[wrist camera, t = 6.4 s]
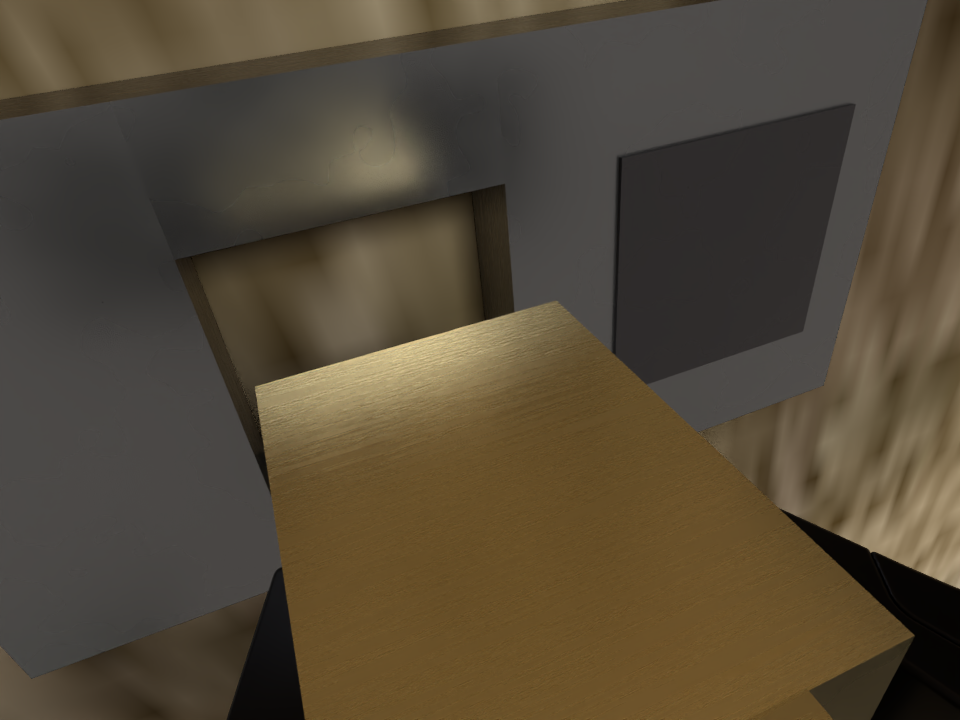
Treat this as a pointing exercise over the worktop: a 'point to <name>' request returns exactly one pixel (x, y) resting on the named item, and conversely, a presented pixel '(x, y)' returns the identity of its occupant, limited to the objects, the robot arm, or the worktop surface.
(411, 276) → the worktop surface
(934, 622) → the robot arm
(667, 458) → the stepped wooden chunk
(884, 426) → the worktop surface
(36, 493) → the grey slotted board
